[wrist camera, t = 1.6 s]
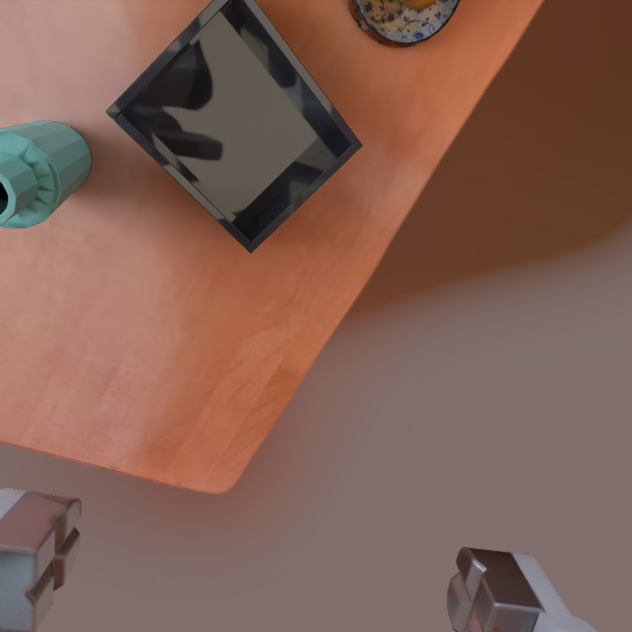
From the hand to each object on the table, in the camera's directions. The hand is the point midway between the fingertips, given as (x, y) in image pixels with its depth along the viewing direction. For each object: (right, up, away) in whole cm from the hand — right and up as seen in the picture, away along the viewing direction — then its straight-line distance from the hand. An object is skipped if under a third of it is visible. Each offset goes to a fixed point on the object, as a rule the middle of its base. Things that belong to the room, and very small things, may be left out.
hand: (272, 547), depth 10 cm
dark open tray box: (-7, +23, +36) cm, 44 cm away
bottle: (-23, +19, +33) cm, 45 cm away
